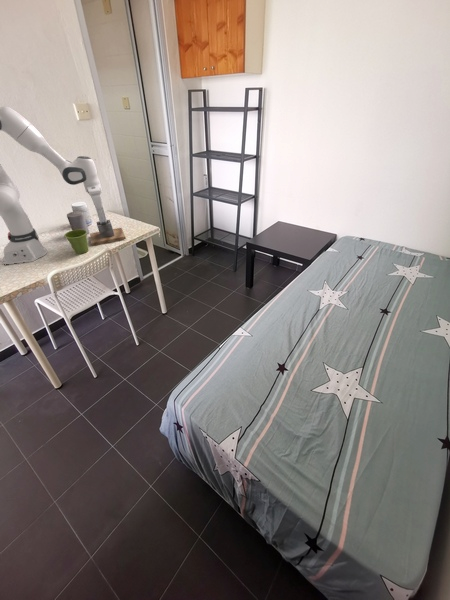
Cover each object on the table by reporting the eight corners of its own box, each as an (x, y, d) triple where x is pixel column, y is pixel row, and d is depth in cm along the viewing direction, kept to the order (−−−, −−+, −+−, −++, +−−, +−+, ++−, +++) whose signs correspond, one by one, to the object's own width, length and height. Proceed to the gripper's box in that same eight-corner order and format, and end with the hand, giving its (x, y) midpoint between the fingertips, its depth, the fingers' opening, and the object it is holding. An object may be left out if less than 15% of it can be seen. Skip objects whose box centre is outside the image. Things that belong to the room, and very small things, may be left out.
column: (103, 236, 177) (93, 203, 164) (102, 233, 180) (92, 200, 168) (111, 235, 178) (101, 201, 166) (110, 232, 182) (101, 199, 169)
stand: (92, 246, 171) (86, 229, 165) (90, 236, 183) (85, 220, 177) (126, 239, 178) (121, 223, 172) (122, 230, 190) (118, 215, 183)
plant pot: (69, 257, 160) (61, 238, 154) (73, 248, 170) (67, 230, 163) (91, 254, 162) (84, 236, 155) (94, 246, 171) (88, 228, 165)
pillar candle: (73, 233, 188) (64, 211, 179) (88, 229, 192) (81, 208, 183) (74, 238, 182) (66, 215, 172) (90, 234, 185) (83, 212, 176)
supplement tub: (75, 225, 200) (68, 204, 191) (87, 221, 206) (81, 200, 197) (82, 228, 195) (75, 207, 186) (95, 224, 201) (88, 203, 192)
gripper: (86, 184, 169) (93, 207, 177) (88, 192, 154) (96, 217, 162) (97, 182, 171) (103, 205, 179) (100, 191, 156) (107, 215, 164)
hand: (100, 211), depth 170 cm, fingers closed on column, 4 cm apart
